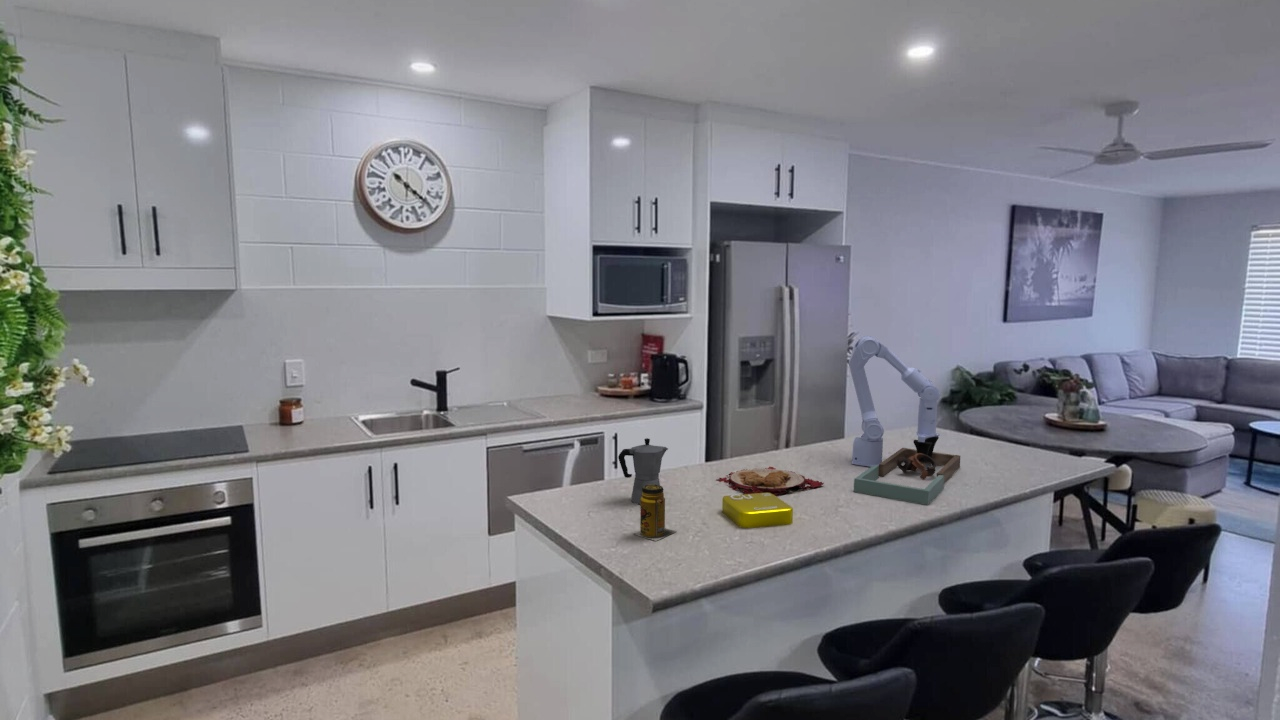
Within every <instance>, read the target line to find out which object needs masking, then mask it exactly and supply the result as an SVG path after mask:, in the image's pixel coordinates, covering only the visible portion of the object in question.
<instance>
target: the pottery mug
mask: <svg viewBox="0 0 1280 720" xmlns="http://www.w3.org/2000/svg"><path fill="white" fill-rule="evenodd" d="M921 457H922V458H924V461H926V462H931V464H930V465H931V466H927V467H926V468H925V464H924V463H920V462H919V461H918V459H920V458H921ZM896 464H897V468H898V469H899V470H901V471H902V474H907V472H908V471H910V472H913V473H916V472H917V469H918V470H919V471H920V472H921V473H920V475H919V478H920V479H922V480H926V479H927V477H930V476H932V475H934V474H936V469H937V468H936V467H937V465H936V463H935V461H934V460H933V459H932V458H931V457H929V456H928V455H925V454H922V453H917V454H915V455H914V456H911V457H910V458H908V459H907V458H905V457H900V458H899V459H898V460H897V462H896ZM902 464H903V465H902Z"/></svg>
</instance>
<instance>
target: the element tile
mask: <svg viewBox="0 0 1280 720" xmlns="http://www.w3.org/2000/svg"><path fill="white" fill-rule="evenodd" d="M721 503H722V506H721V512H722V513H723V514H724V515H725V516H726V517H727V518H728V519H730V520H731V521H732V522H733V523H734V524H735V525H736V526H738V527H739V528H742V529H755V528H756V529H757V528H765V527H766V528H767V527H775V526H776V527H777V526H779V527H780V526H789V525H792V524H793V521H794V520H793V519H794V507H793V506H791V505H789V504H788V503H787V502H785V501H784V500H783V499H780V498H779V497H777V495H776V496H775V495H773V494H771V493H755V494H745V493H743V494H731V495H724V496H722V502H721Z"/></svg>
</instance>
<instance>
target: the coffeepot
mask: <svg viewBox="0 0 1280 720" xmlns="http://www.w3.org/2000/svg"><path fill="white" fill-rule="evenodd" d="M650 442H651V438H647V437H646V438H644V444H640V445H637V446H633V447H630V448H624V449H622V451H621V452H620V453H619V455H618V457H617V458H618V462H619V464H620V468H621V469H622V473H623V475H624V478H627V479H628V478H632V476H633V473H628V467H627V464H626V463H627V462H626V459H625V457H626V456H631V457H632V461H633V469H634V474H635V476H634V480H633V486H632V492H631V497H630V498H631V503H633V504H636V505H639V506H641V505H640V502H641V497H642V487H643V486H645V485H660V486H661V483H660V476H659V474H660V473H661V467H662V461H663V460H662V459H663V457H664V455H665V453H666V452H667V451H668V450H669V448H668V447H666V446H662V445H653V444H650Z"/></svg>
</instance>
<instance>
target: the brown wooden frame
mask: <svg viewBox="0 0 1280 720" xmlns="http://www.w3.org/2000/svg"><path fill="white" fill-rule="evenodd" d="M915 454H917V449H916V448H908V447H902V448H900V449H899V450H897V451H896V452H894V453H893V454H891V455H890V456H888V458H886V459H884V460H882V462H881V463H880V464H879V476H878V477H880V478H884V477H885V476H887V475H888V474H889V473H890V472H892V471H893V470H894V469H895V468H898V466H897V464H896V462H897V460H898V459H899V458H900V457H905V458H907V459H908V458H910V457H911V456H914V455H915ZM931 458H932V459H933V460H934V461H935V463H936V466H941V467H942V468H940V470H938V471H937V472H936V477H937V476H938V475H942V476H944V484H945V483H946V482H948V481H949V479H950V478H951V477H952V476H953V475H954V474H955V473H956V472H957V471H958V470H959V469H960V467H961V466H960V465H961V455H958V454H950V453H943V452H937V451H936V452H935V451H933V453H932V456H931ZM918 461H919V459H918ZM919 462H920V461H919ZM920 463H922V464H928V465H932V464H931V462H920Z"/></svg>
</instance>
